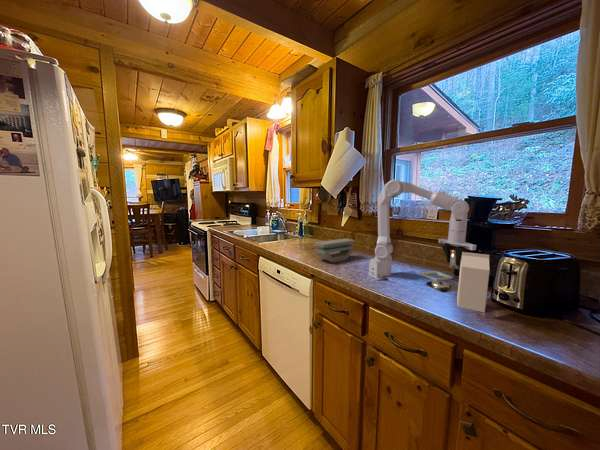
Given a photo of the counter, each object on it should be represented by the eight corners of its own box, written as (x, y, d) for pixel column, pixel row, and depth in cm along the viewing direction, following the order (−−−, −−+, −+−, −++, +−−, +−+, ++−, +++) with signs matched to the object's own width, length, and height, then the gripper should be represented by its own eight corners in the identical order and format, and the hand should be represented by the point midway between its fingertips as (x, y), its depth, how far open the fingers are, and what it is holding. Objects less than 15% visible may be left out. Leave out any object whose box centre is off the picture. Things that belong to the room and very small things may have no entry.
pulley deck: (443, 296, 89) (443, 287, 89) (423, 287, 98) (424, 279, 97) (468, 292, 93) (469, 283, 93) (447, 284, 102) (448, 276, 101)
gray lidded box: (322, 264, 129) (323, 244, 128) (313, 261, 136) (314, 242, 134) (354, 258, 143) (355, 240, 142) (345, 255, 150) (345, 238, 149)
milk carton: (484, 316, 74) (491, 257, 72) (457, 310, 78) (462, 254, 76) (481, 308, 80) (487, 252, 78) (456, 302, 84) (461, 250, 82)
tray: (435, 284, 102) (436, 278, 101) (420, 278, 109) (420, 272, 109) (451, 282, 104) (452, 276, 104) (435, 276, 112) (436, 271, 112)
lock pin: (454, 269, 93) (456, 251, 93) (446, 267, 97) (447, 249, 96) (461, 268, 95) (463, 250, 94) (453, 266, 98) (454, 248, 97)
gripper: (483, 232, 88) (479, 268, 90) (448, 227, 102) (445, 258, 104) (469, 233, 86) (466, 270, 88) (435, 228, 100) (432, 259, 101)
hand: (454, 264), depth 96 cm, fingers closed on lock pin, 3 cm apart
